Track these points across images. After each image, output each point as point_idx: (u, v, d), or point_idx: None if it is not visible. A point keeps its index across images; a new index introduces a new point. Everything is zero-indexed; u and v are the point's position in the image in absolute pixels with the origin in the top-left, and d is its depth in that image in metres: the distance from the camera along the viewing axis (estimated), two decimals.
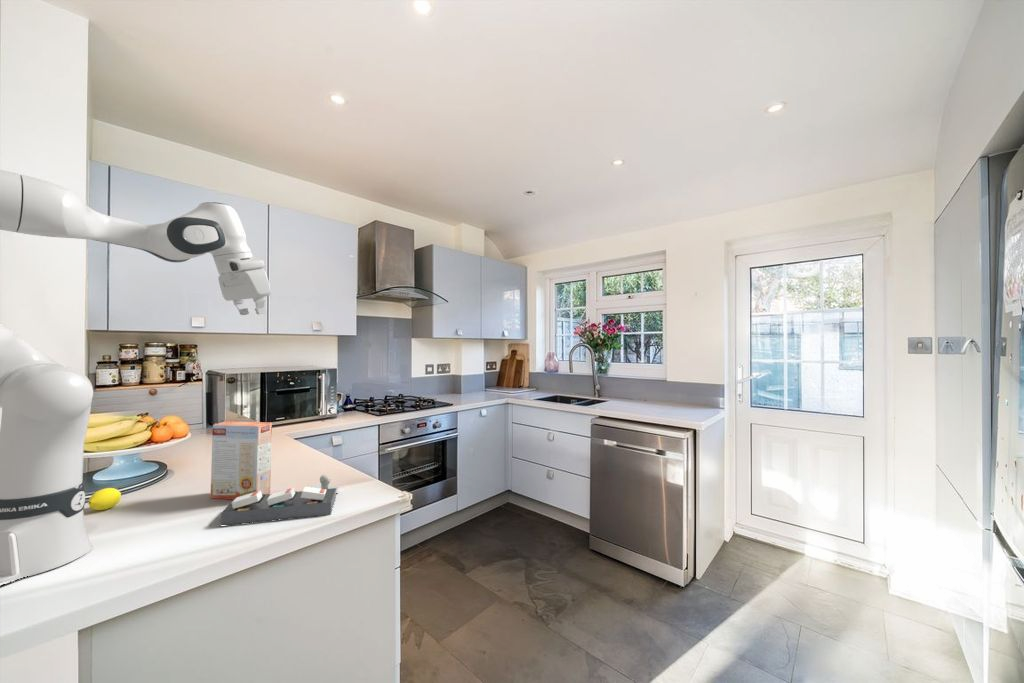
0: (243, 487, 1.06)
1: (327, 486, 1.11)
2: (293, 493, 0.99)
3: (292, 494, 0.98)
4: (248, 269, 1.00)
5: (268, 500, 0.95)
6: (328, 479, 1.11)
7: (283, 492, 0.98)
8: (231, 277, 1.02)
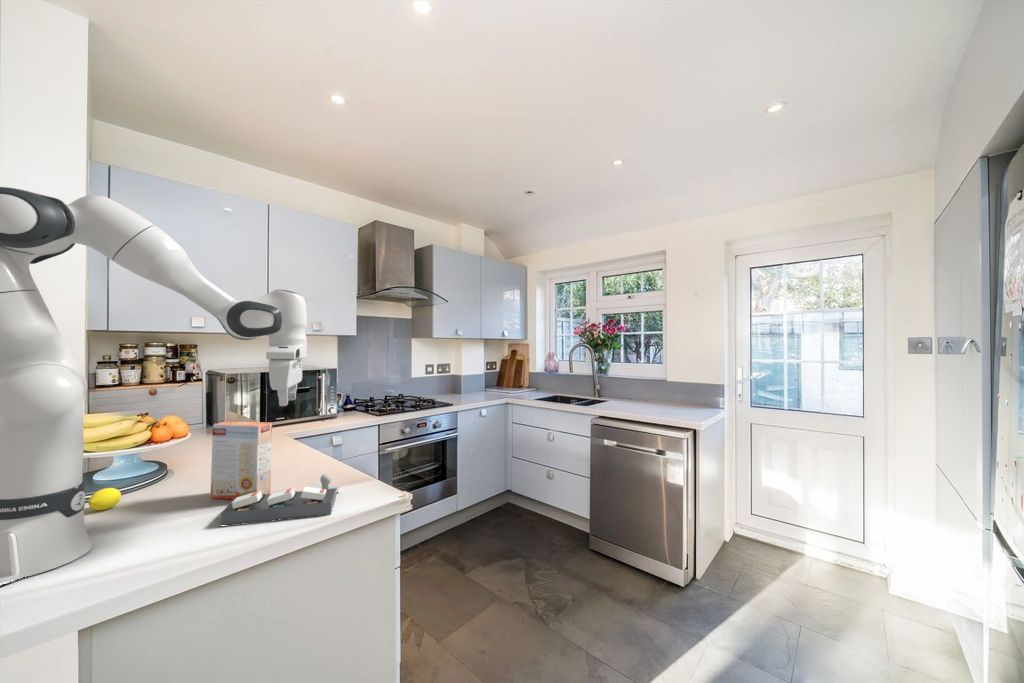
0: (243, 487, 1.06)
1: (327, 486, 1.11)
2: (293, 493, 0.99)
3: (292, 494, 0.98)
4: (275, 359, 0.94)
5: (268, 500, 0.95)
6: (329, 479, 1.11)
7: (283, 492, 0.98)
8: None
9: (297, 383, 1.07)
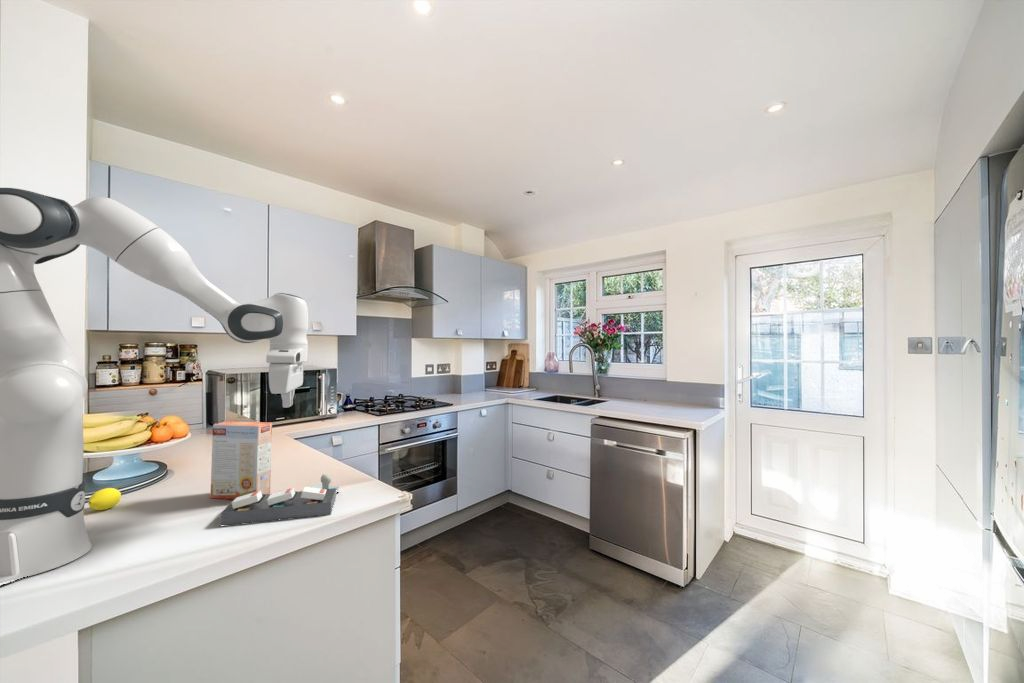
0: (243, 487, 1.06)
1: (328, 485, 1.11)
2: (293, 493, 0.99)
3: (292, 494, 0.98)
4: (275, 362, 0.94)
5: (268, 500, 0.95)
6: (329, 478, 1.11)
7: (283, 492, 0.98)
8: None
9: (297, 387, 1.06)
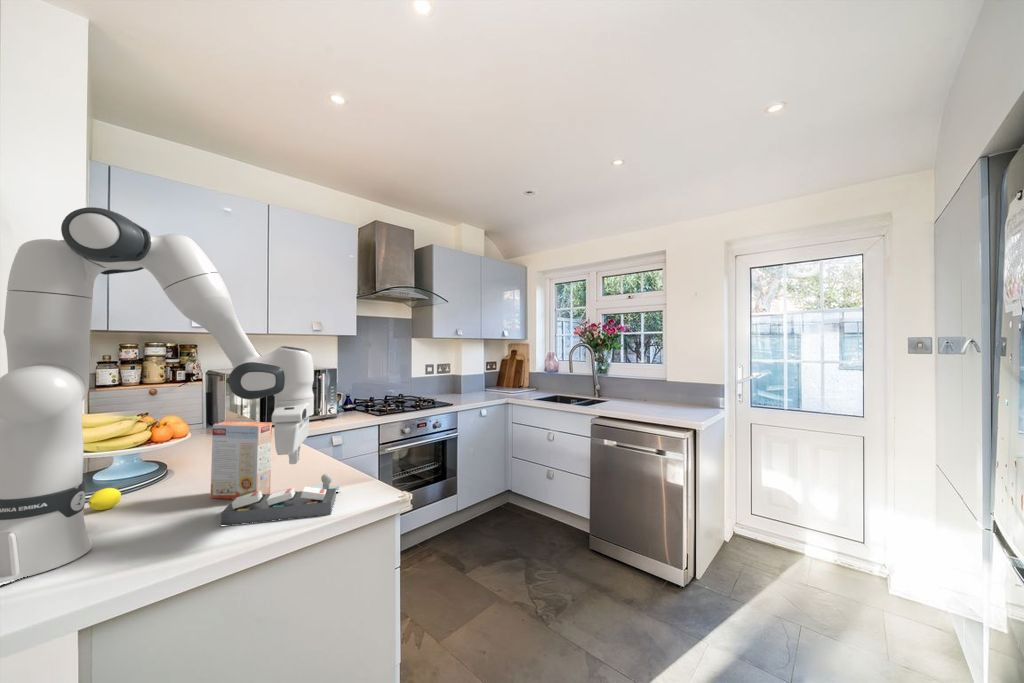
0: (243, 487, 1.06)
1: (328, 485, 1.12)
2: (293, 493, 0.99)
3: (292, 494, 0.98)
4: (280, 422, 0.91)
5: (268, 500, 0.95)
6: (329, 478, 1.11)
7: (283, 492, 0.98)
8: None
9: None
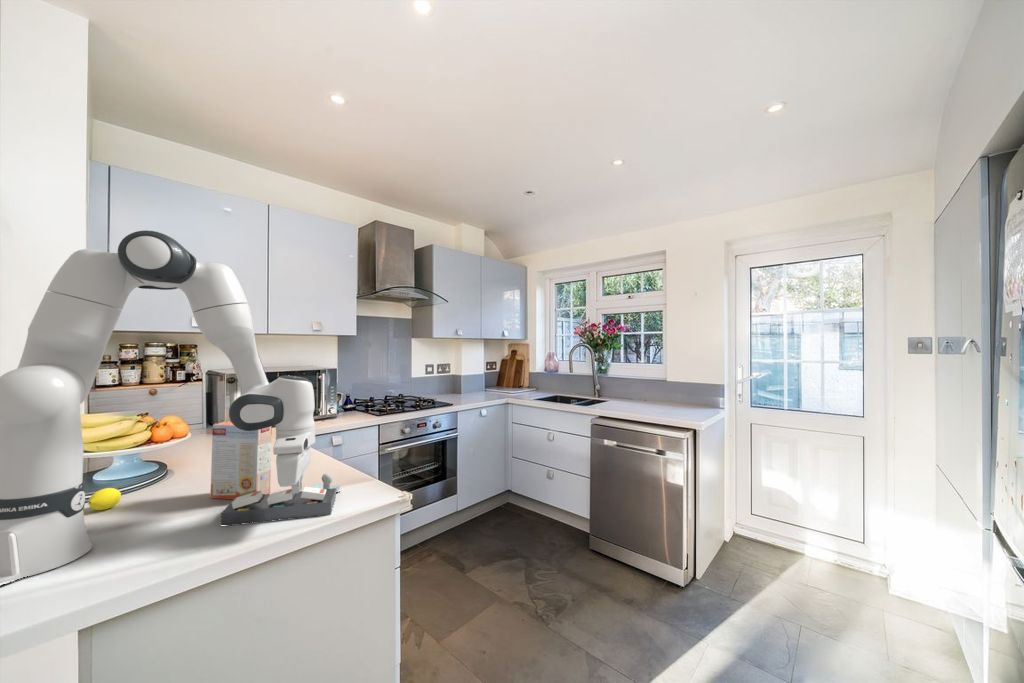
0: (243, 487, 1.06)
1: (329, 485, 1.12)
2: (293, 494, 0.99)
3: (292, 495, 0.98)
4: (282, 454, 0.91)
5: (268, 499, 0.95)
6: (330, 478, 1.12)
7: (283, 492, 0.98)
8: None
9: (306, 467, 1.03)
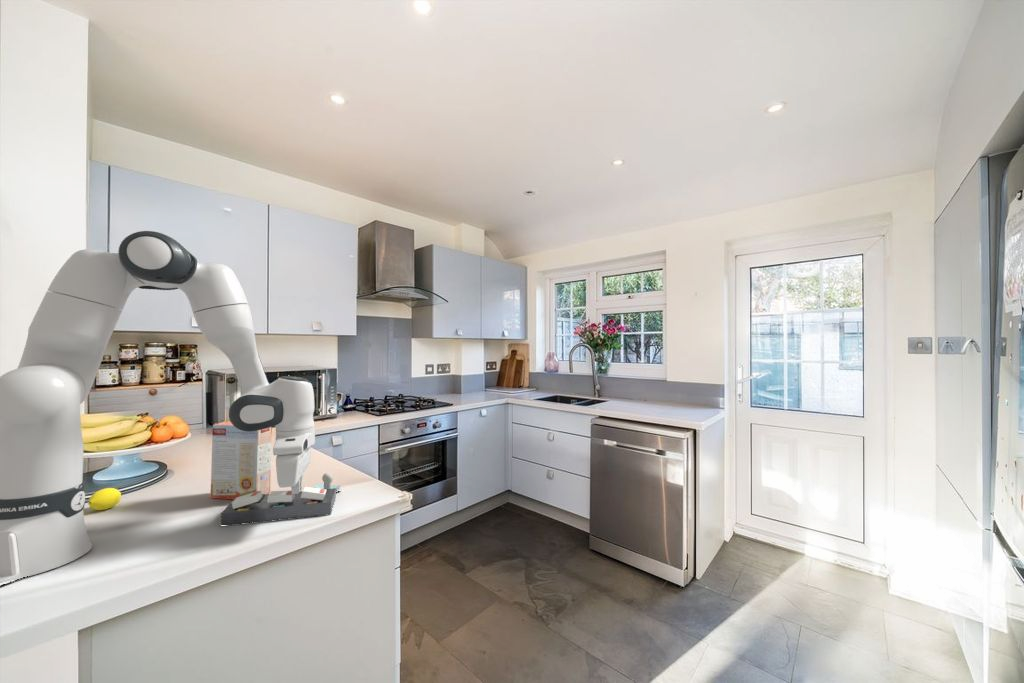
0: (243, 487, 1.06)
1: (329, 484, 1.12)
2: (293, 496, 0.99)
3: (292, 497, 0.98)
4: (282, 454, 0.91)
5: (268, 497, 0.95)
6: (330, 477, 1.12)
7: (284, 493, 0.98)
8: None
9: None
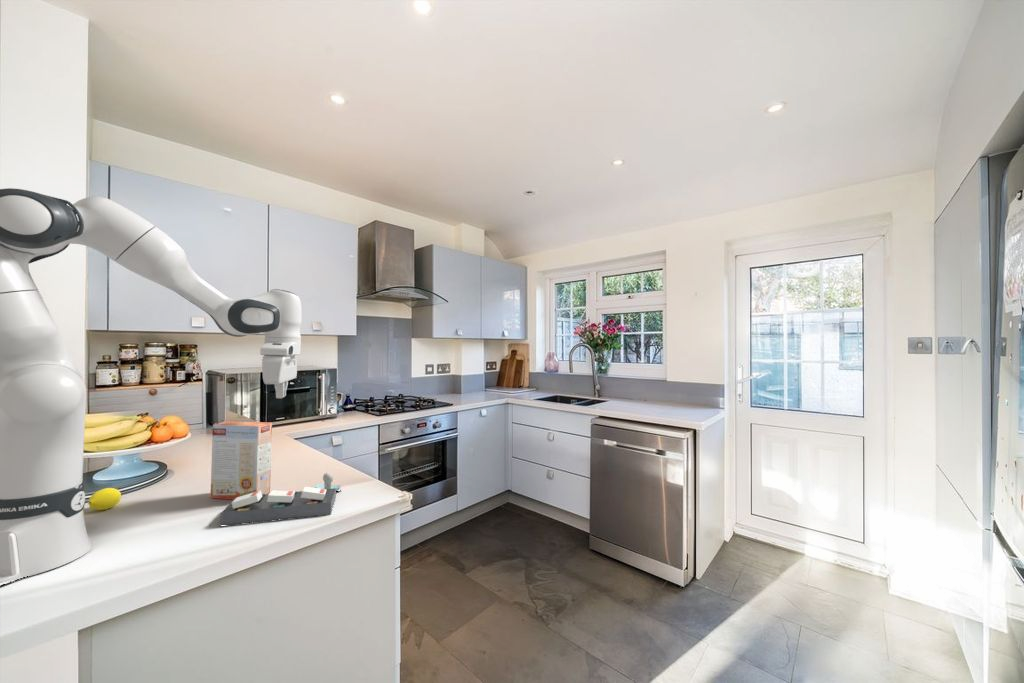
0: (243, 487, 1.06)
1: (330, 484, 1.13)
2: (293, 497, 0.99)
3: (292, 498, 0.98)
4: (268, 354, 0.99)
5: (269, 496, 0.95)
6: (331, 477, 1.12)
7: (284, 493, 0.98)
8: None
9: (291, 379, 1.11)
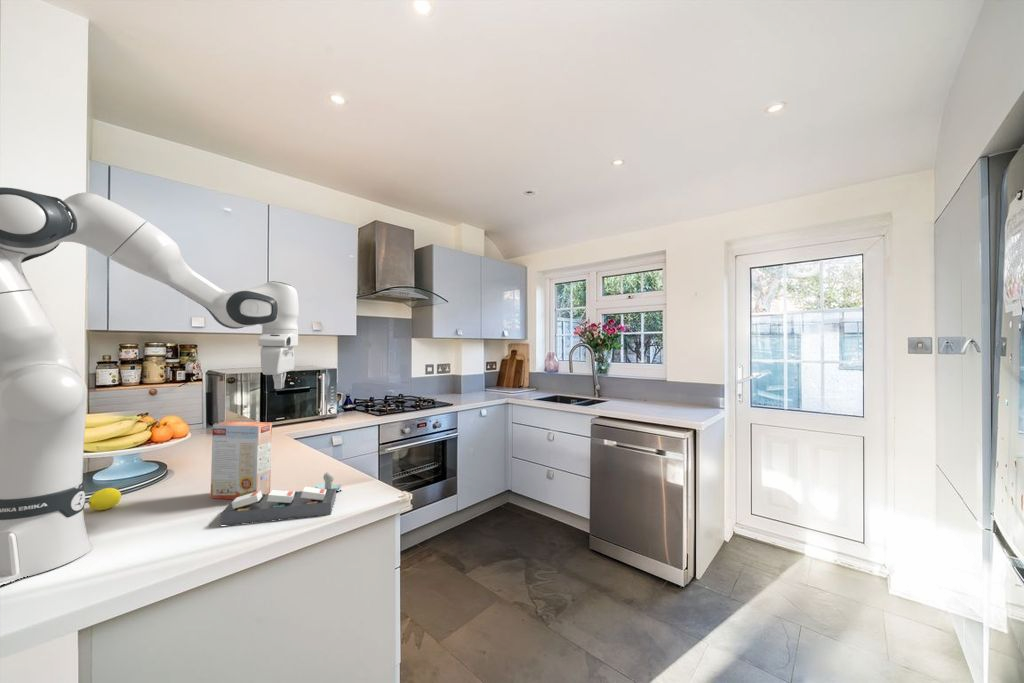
0: (243, 487, 1.06)
1: (331, 484, 1.13)
2: (293, 498, 0.99)
3: (292, 499, 0.98)
4: (266, 345, 1.00)
5: (269, 496, 0.96)
6: (332, 477, 1.12)
7: (285, 493, 0.98)
8: None
9: None
